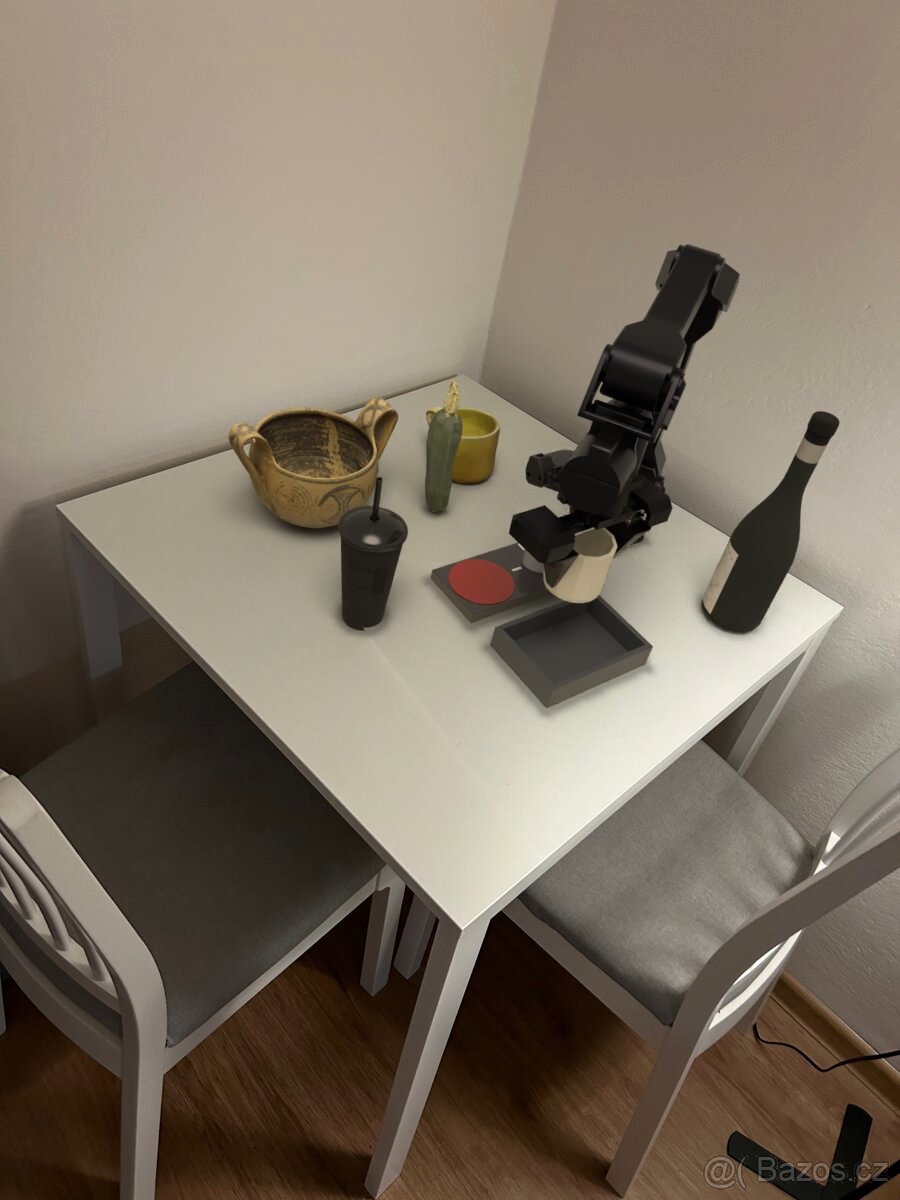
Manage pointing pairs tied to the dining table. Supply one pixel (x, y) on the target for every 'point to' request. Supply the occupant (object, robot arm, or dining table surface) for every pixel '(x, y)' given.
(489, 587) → the burner
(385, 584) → the drinking cup
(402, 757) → the dining table surface
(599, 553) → the pot
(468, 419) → the mug
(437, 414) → the vegetable
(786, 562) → the wine bottle
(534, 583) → the hob
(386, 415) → the ceramic bowl
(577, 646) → the sink
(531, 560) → the knob
